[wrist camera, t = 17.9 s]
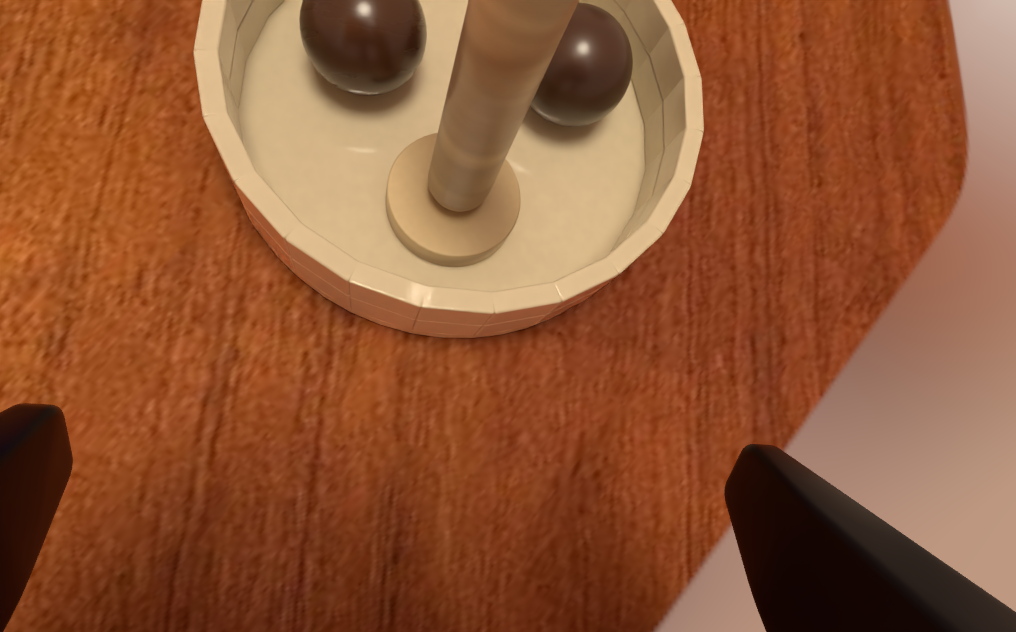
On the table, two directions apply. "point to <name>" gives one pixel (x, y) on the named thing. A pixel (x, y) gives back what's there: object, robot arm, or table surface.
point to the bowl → (417, 113)
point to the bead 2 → (586, 70)
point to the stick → (476, 135)
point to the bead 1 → (364, 42)
